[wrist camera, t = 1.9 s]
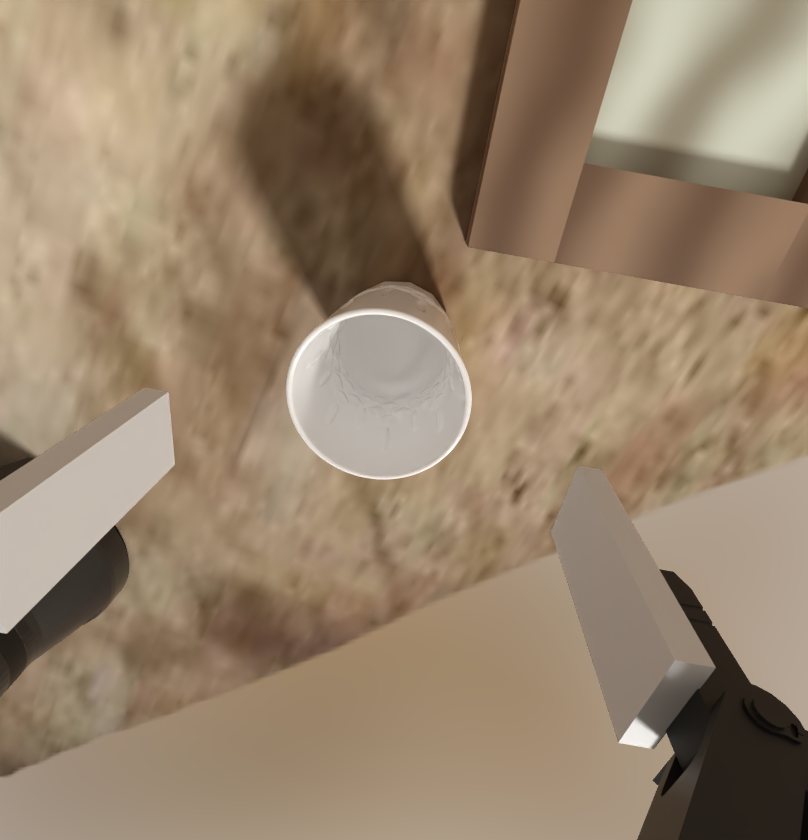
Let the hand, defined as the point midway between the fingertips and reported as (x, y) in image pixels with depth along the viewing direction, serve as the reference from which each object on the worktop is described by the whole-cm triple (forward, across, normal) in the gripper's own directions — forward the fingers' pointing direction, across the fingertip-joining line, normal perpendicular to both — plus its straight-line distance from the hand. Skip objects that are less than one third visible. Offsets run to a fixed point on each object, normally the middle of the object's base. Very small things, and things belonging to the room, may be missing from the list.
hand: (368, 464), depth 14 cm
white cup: (+15, 0, 0) cm, 15 cm away
